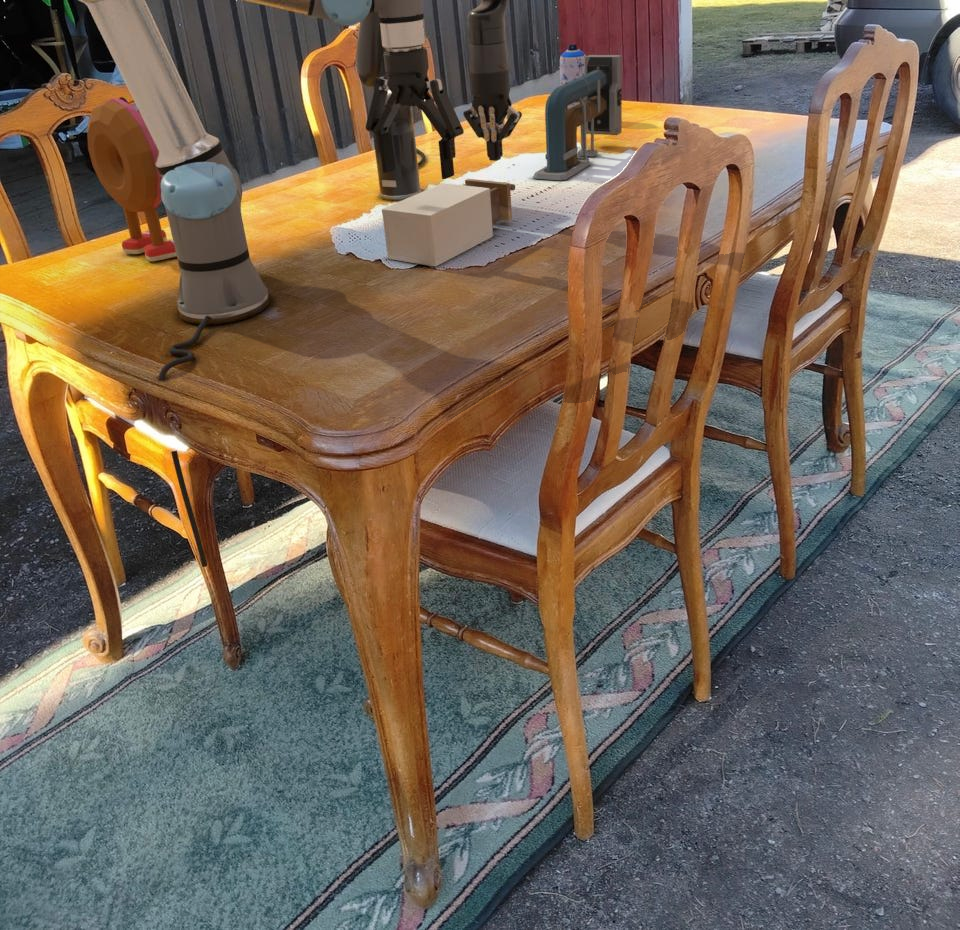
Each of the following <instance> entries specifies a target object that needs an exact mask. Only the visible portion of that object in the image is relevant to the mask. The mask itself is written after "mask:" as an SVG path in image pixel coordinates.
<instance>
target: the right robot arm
mask: <svg viewBox="0 0 960 930" xmlns="http://www.w3.org/2000/svg"><path fill="white" fill-rule="evenodd" d="M508 2H509V0H481V2H480V4H479V5H478V6H477V7H475V8H473V9H471V10H470V11H469V12H468V15H467V34H468V46H469V47H468V65H469V66H468V67H469V76H470V77H469V79H470V93H471V94H472V101H471V106H470V107H469V108H468V109H466V110H464V111H463V117H464V119H465V120H466V121H467V123H468V124H469V126H470V128H471V129H472V131H473V132H474V134H475V135H476V136H477V138H479V139H480V138H481V139H484V141H485V144H486V155H487V158H488V160H489V161H490V162H491V161H492V162H497V161H499V160H501V159H502V158H503V154H504V153H503V152H504V151H503V141H504V139H506V138H509V137H511V135H512V133H513V131H514V130H515V128H516V126H517V125H518V123H519V122H520V120H521V118H522V117H523V113H522V112H521V111H520V110H518V111H517V110H515V108H514V107H512V106H513V105H512V100H511V98H510V92H511V83H510V81H511V80H510V68H509V67H510V65H509V52H508V46H507V34H506V20H505V19H506V12H507V8H508ZM385 51H386V48H384V47H383V46H382V39H381V29H380V20H379V13H378V12H374V13H368V15H367V16H366V17H365V19H363V20H362V21H361V22H359V27H358V33H357V39H356V48H355V67H356V72H357V75H358V78H359V80H360V82H361V83H362V84H363V85H364V86H366V87H368V88H374V79H375V78H378V77H382V76H386V77H387V78H388V74H387V73H386V71H385V64H384V55H383V53H384V52H385ZM390 95H391V91H390V89H388V93H387V97H386V101H385V105H384V109H383V112H384V110H385V108H386V106H387V104H388V103H387V101H388V99H389V97H390ZM505 119H506V121H505ZM388 130H389V131H388ZM388 130H387V131H388V132H386V133H391V136H392V145H393V154H394V162H395V170H392V171H390V172H387V173H383V169H382V160H381V153H379V152H378V148H377V140H376V135H375V134H374V133H373V132H372V137H373V147H374V153H375V161H376V168H377V177H378V178H377V179H378V186H379V197H380V198H381V199H382V200H386V201H402V200H404V199H407V198H409V197H411V196H414V195H416V194H418V193H421V192H422V188H421V181H420V173H419V172H420V171H419V167H420V166H421V165H422V164H423V163H424V162H425V161H426V154H425V152H423V151H421V150H420V149H418V148H417V142H416V134H415V125H414V114H413V106H409V105H405V106H400V108H399V110H398V112H397V114H396V115H395V117H394V119H393V121H392V123H391V125H390V127H389V128H388ZM418 154H419V155H420V156H421V159H420V160H419V159H418ZM418 160H419V161H418Z"/></svg>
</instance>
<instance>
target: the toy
mask: <svg viewBox="0 0 960 930" xmlns="http://www.w3.org/2000/svg"><path fill="white" fill-rule="evenodd" d="M86 134H87V135H86V137H87V150H88V153H89V158H90V161H91V164H92V167H93V170H94V172H95V174H96V176H97V178H98V180H99V182H100V184H101V185H102V186H103V188H104V189H105V191H106V192H107V193H108V195H109V196H110V197H111V198H112V199H113V200H114V201H115V202H116V203H117V204H118V206H121V207H122V209H123V213H124V217H125V220H126V225H127V229H128V232H129V236H130V237H128V238H127V239H124V240H122V242H121V247H122V251H123V253H125V254H129V255H140V254H143V253H144V256H145V258H146V260H147V261H149V262H151V263H153V262H157V261H162V260H167V259H172V258H177V255H176V250H175V246H174V242H173V239H170V240H168V238H167V233H166V231H165V230H164V229H162V225H161V221H160V217H159V214H158V210H157V208H158V207H159V206H160V205H161V204H162V198H161V192H162V191H161V180H162V177H161V175H160V173H159V171H158V169H157V167H156V165H155V163H156V160H157V157H158V154H159V151H158V149H157V147H156V145H155V143H154V141H153V139H152V136H151V134H150V132H149V130H148V128H147V126H146V124H145V122H144V120H143V118H142V116H141V114H140V112H139V110H138V108H136V107H134V106H133V105H132V104H130V103H129V102H128V100H127V99H126V98H125V97H124V96H121V97H119V98H116V97H112V98H110V99H108V100H106V101H103V102H101V103H100V104H97V105H96V106H94V108H92V110H91V112H90V116H89V118H88V122H87V132H86ZM138 213H143V214H144V217H145V221H146V224H147V227H148V229H146V230H144V231H142V229H141V224H140V220H139V219H140V218H139V215H138Z"/></svg>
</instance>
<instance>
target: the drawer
mask: <svg viewBox="0 0 960 930" xmlns="http://www.w3.org/2000/svg"><path fill="white" fill-rule="evenodd" d="M464 183H465V184H463V185H464V186H474V187H483V188H490V199H491V214H492V226H493V225H495V224H497V223H499V222H501V221H504V222H510V221H513V214H512V213H513V211H512V195H511V192H512V191H513V192H514V191H515V190H516V185H515V184H514V183H510V182H504V181H495V180H486V179H485V180H484V179H477V178H476V179H475V178H467V179H466V178H465V180H464Z"/></svg>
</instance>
